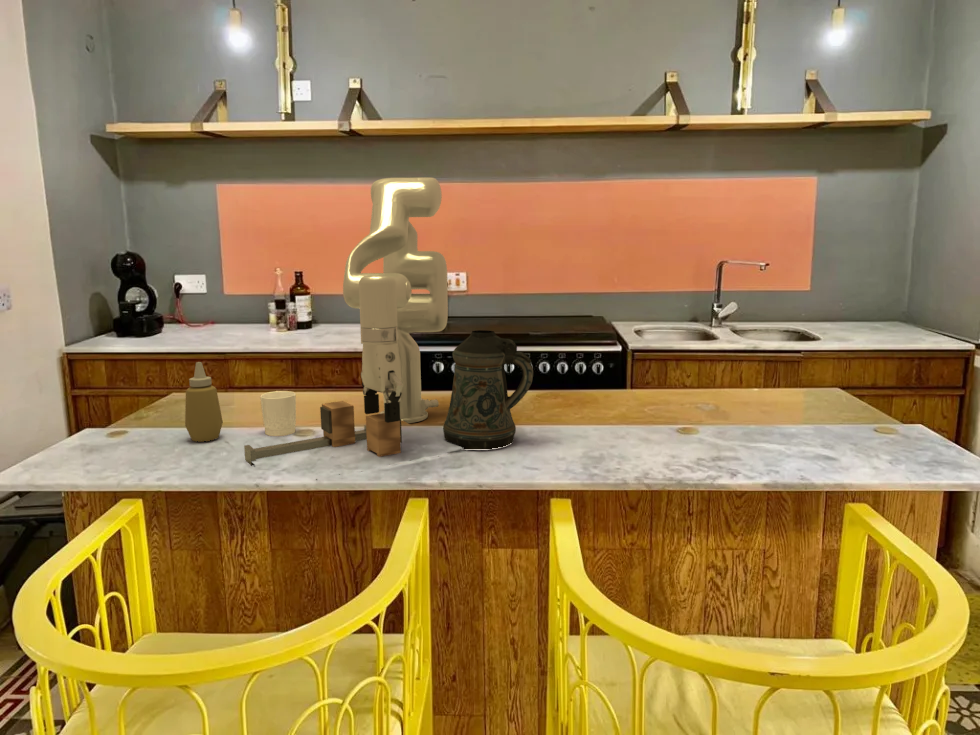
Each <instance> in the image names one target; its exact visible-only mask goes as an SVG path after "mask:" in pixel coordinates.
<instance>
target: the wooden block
mask: <svg viewBox="0 0 980 735" xmlns="http://www.w3.org/2000/svg"><path fill="white" fill-rule="evenodd" d="M319 410H320V428H321V430H322V432H323V437H325V436H327V437H328V438H330V439H332V445H331V446H332V447H333V448H336V447H337V448H338V447H343V446H347V445H354V444H356V441H355V431H356V429H355V408H354V405H353V404H351V403H349V402H347V401H344V400H340V401H333V402H325V403H321V406H320V407H319Z"/></svg>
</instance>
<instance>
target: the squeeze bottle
mask: <svg viewBox="0 0 980 735" xmlns="http://www.w3.org/2000/svg"><path fill="white" fill-rule="evenodd" d="M194 368H195V369H194V374H193V377H191V378H188V381H189V387H188V388H187V389H186V390H185V412H184V413H185V415H184V420H185V421H184V426H185V428H186V430H187V432H188V435H189V436H190V440H191V441H192V442H197V441H198V442H201V443H202V442H204V441H206V442H210V440H211V441H214V439H215V440H217V439H219V437H220V434H221V430H222V426H223V415H222V411H221V406H220V400H219V396H218V390H217V389H218V388H216V387H215V386H214V385H212V377H211V376H209V375H208V376H207V375H206V372H205V368H204V366H203V363H202V361H198V362H197V361H196V362H195V367H194Z"/></svg>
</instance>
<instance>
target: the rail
mask: <svg viewBox="0 0 980 735" xmlns="http://www.w3.org/2000/svg"><path fill="white" fill-rule="evenodd" d="M363 428H364V429H360V430H355V442H357V441H363V440H367V433H366V424H365V425H364V426H363ZM330 446H332V439H330V438H328V437H327V436H325V437H324V436H321V437H320V436H319V437H313V438H308V439H302V440H295V441H291V442H284V443H280V444H279V443H278V444H274V445H272V444H271V445H268V446H263V447H256V448H253V446H251V445H250V444H247V445H244V446H243V447H244V448H243V449H244V459H245V460H246V461H245V460H244V461H245V462H246V463H248V464H249V465H250V466H251V467H253V466H256V464H255V463H253V462H255V461H257V460H258V459H259V460H260V459H264V458H269V457H274V456H275V457H276V456H281V455H284V454H285V455H287V454H291V453H296V452H302V451H308V450H313V449H319V448H325V447H330ZM252 465H253V466H252Z"/></svg>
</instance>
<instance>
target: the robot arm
mask: <svg viewBox="0 0 980 735" xmlns="http://www.w3.org/2000/svg"><path fill="white" fill-rule="evenodd" d="M442 196H443V195H442V188H441V185H440V183H439V180H438V179H437V178H435V177H385V178H380V179H377V180H375V181H374V182H373V183H372V184H371V186H370V199H371V203H372V208H371V216H370V217H371V218H370V227H369V228H370V229H369V233H368V234H367V235H366V236H365V237H363V239H361V240H360V241H359V242H358V243H357V244H356V245H355V246H354V248H353V249H352V251H351V252H350V253H349V254H348V257H347V259H346V262H345V266H344V274H343V280H342V282H343V283H342V296H343V299H344V302H345V303H346V305H347V306H349V307H350V308H352V309H359V321H360V325H359V326H360V327H359V329H360V344H362V351H361V352H362V354H361V356H362V358H361V361H362V362H361V372H360V377H361V381H362V382H361V386H362V388H363V390H362V393H363V406H364V409H363V410H364V414H365V415H374V414H382V413H385V422H387V423H389V422H396V421H400V419H401V422H404V423H406V424H413V423H418V422H421V421H425V420H426V419H427V418H428V416H429V414H428V412H427V410H429V408H437V407H438V406H439V400H438V399H436V398H435V399H431V400H429V399H428V398H427V399H424V398H422V379H421V378H422V376H421V374H422V373H421V351H420V347H419V345H418V343H417V342H416V339H415V340H414V338H413V337H412V335H410V333H437V332H438V333H439V332H441V331H443V330H445V328H446V327H447V324H448V317H449V316H448V314H449V313H448V312H449V311H448V310H449V309H448V306H449V305H448V300H449V299H448V295H449V294H448V291H449V290H448V267H447V260H446V258H445V256H444V255H443V254H442V253H441V252H438V251H434V250H419V249H418V238H419V237H418V232H417V230H416V228H415V227H414V225H413V224H412V223H411V221H410V218H431V217H434V216H435V215H436V214H437V212H438V211H439V209H440V208H441V204H442ZM380 259H383V260H382V261H383V266H382V270H383V271H382V272H383V273H382V272H380V273H379V272H377V273H376V272H365V273H364V272H363V273H362V271H363V270H364V269H365V268H366V267H367V266H369V265H370V264H372V263H374V262H376V261H378V260H380ZM412 290H426V291H428V292H429V293H413V292H412ZM379 393H382V394H383V396H382V397H383V410H382V411H380V394H379Z"/></svg>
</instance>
